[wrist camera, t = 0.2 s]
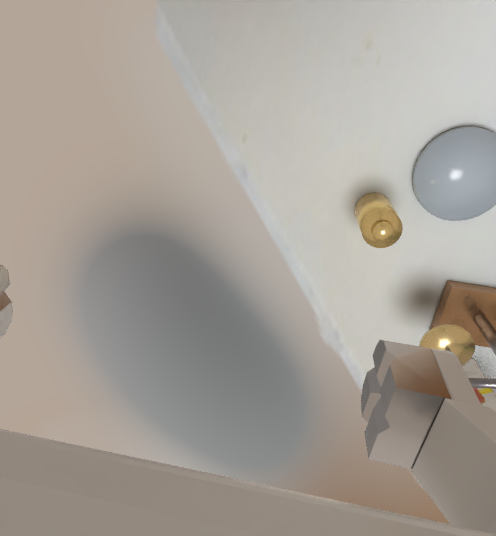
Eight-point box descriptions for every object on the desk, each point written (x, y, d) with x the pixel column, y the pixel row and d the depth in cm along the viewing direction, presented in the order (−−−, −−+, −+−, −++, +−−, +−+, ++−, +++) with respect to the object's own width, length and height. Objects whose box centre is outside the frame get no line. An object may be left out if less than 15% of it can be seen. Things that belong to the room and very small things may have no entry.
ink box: (493, 398, 67) (529, 463, 57) (460, 408, 69) (489, 473, 58) (474, 356, 65) (508, 415, 54) (440, 367, 66) (467, 428, 55)
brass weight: (359, 190, 56) (368, 211, 48) (394, 195, 56) (409, 217, 48) (351, 223, 58) (359, 248, 50) (385, 228, 58) (398, 254, 50)
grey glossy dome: (427, 119, 52) (430, 121, 51) (524, 133, 51) (529, 135, 50) (401, 210, 56) (403, 213, 55) (489, 223, 56) (493, 227, 55)
